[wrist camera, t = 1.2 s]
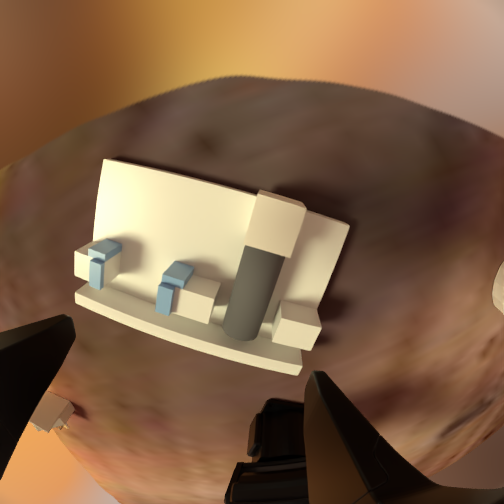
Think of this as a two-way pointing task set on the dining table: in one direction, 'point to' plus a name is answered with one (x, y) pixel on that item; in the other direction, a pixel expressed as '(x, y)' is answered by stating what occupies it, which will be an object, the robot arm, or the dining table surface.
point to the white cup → (499, 289)
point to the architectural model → (51, 412)
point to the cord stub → (262, 262)
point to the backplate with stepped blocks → (198, 265)
